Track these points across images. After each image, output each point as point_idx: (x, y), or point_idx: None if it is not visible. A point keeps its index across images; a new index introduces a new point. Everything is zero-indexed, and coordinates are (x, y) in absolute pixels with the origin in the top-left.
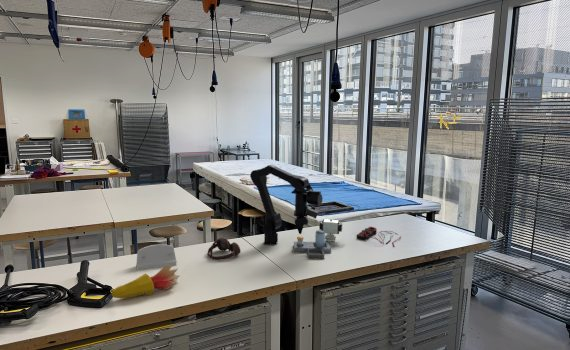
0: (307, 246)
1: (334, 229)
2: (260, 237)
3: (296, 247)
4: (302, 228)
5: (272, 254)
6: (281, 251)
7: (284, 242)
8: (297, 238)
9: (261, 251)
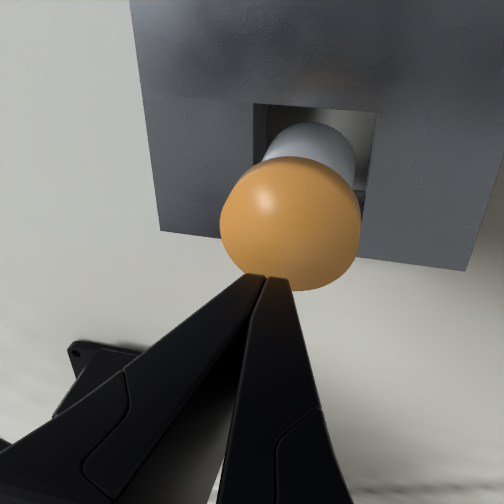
0: (419, 37)
1: None
2: (29, 421)
3: (440, 238)
4: (315, 397)
5: (483, 438)
6: (403, 357)
7: (101, 281)
8: (318, 280)
9: (378, 483)
